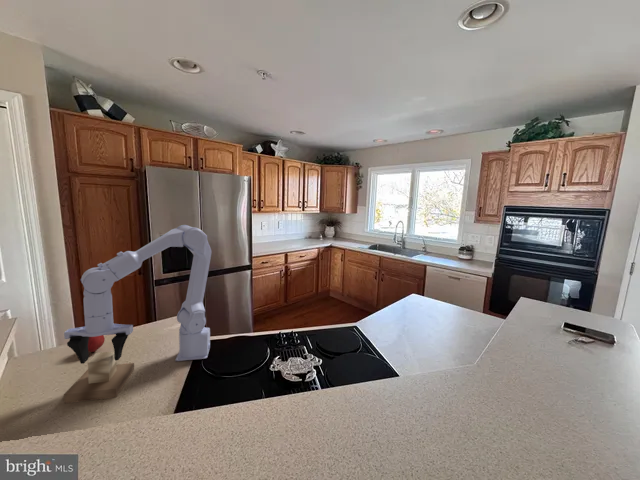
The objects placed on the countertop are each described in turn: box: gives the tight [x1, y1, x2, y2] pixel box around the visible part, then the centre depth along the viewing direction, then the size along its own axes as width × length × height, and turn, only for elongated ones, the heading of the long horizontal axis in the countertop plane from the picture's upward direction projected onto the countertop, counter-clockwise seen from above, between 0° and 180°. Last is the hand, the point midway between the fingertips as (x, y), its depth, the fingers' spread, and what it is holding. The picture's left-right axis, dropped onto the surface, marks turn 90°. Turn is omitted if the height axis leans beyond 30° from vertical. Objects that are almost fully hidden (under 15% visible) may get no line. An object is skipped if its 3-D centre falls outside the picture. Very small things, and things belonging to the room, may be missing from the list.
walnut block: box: [63, 362, 135, 404], centre depth 70 cm, size 11×11×3 cm
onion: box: [88, 335, 106, 353], centre depth 84 cm, size 6×6×8 cm
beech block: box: [87, 351, 117, 384], centre depth 70 cm, size 4×4×6 cm
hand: (101, 359), depth 69 cm, fingers open, 7 cm apart
